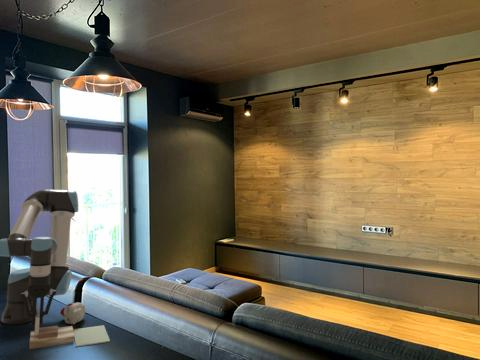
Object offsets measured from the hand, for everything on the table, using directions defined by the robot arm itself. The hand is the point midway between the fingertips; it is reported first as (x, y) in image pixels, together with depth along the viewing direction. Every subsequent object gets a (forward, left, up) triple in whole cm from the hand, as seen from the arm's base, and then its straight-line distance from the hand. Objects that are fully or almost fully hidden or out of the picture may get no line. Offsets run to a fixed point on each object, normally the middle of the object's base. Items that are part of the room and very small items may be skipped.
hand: (36, 332), depth 147 cm
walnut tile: (0, +4, -2) cm, 4 cm away
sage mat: (+2, +21, -4) cm, 21 cm away
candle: (-19, +15, -4) cm, 25 cm away
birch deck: (0, +6, -4) cm, 7 cm away
